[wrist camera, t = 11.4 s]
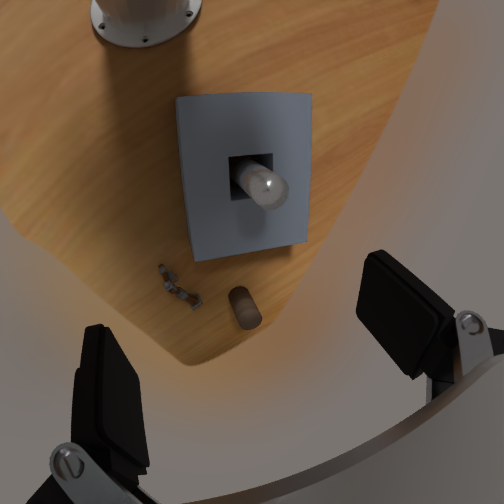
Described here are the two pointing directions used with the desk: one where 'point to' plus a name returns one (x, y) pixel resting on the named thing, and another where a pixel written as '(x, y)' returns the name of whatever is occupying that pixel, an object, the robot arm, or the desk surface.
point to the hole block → (238, 144)
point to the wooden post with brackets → (178, 288)
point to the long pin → (259, 182)
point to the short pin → (244, 308)
